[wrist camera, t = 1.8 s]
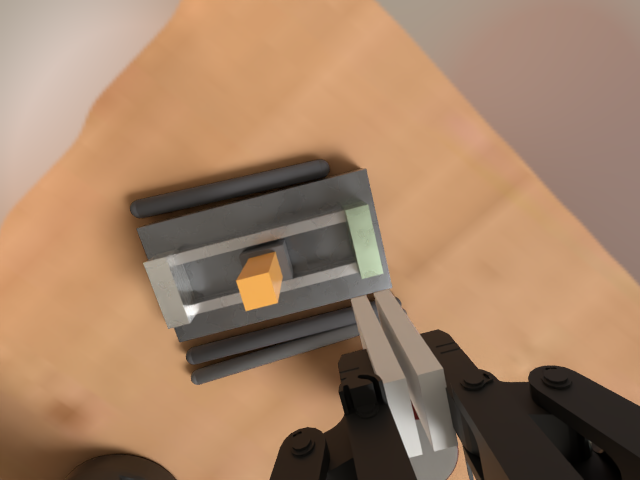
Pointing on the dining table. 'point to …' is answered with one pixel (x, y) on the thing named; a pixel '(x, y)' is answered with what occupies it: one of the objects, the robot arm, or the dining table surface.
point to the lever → (263, 274)
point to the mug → (432, 457)
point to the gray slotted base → (258, 229)
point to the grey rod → (274, 335)
